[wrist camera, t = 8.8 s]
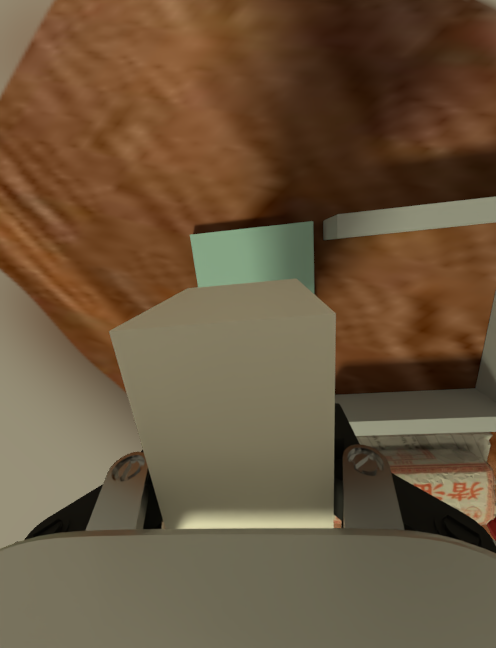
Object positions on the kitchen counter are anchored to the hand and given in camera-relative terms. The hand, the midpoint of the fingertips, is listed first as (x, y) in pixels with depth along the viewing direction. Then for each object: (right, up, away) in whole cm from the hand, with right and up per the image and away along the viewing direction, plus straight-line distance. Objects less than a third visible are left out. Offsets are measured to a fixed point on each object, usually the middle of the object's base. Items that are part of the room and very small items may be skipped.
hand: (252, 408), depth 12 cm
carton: (0, 0, +1) cm, 1 cm away
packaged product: (+16, -12, +16) cm, 25 cm away
